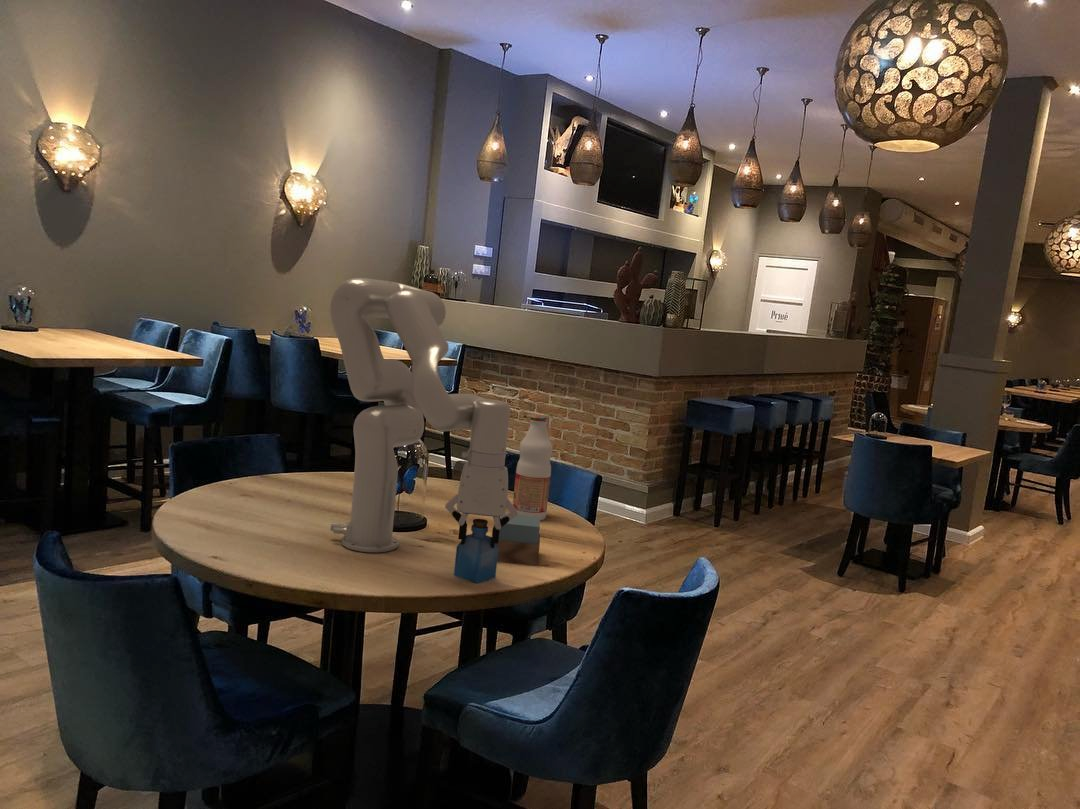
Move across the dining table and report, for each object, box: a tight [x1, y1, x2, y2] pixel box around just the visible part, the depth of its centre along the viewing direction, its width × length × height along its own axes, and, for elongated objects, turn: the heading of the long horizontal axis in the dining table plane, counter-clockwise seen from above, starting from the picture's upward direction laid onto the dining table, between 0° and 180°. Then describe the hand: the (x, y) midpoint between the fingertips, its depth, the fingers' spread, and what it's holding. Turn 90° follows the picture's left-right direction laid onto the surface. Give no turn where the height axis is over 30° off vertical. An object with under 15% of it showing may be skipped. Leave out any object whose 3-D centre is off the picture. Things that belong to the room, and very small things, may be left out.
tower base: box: [496, 533, 541, 567], centre depth 195 cm, size 10×10×5 cm
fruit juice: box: [512, 414, 554, 522], centre depth 232 cm, size 9×9×28 cm
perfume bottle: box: [453, 518, 498, 584], centre depth 178 cm, size 6×6×12 cm
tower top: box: [499, 513, 541, 544], centre depth 195 cm, size 9×9×4 cm
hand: (478, 543), depth 178 cm, fingers closed on perfume bottle, 5 cm apart
